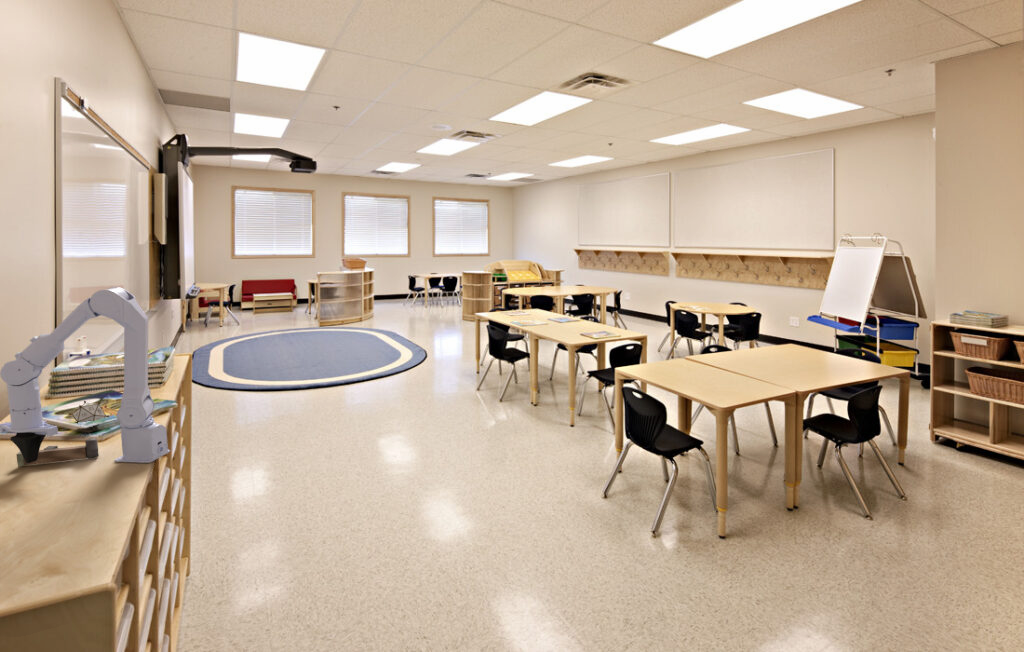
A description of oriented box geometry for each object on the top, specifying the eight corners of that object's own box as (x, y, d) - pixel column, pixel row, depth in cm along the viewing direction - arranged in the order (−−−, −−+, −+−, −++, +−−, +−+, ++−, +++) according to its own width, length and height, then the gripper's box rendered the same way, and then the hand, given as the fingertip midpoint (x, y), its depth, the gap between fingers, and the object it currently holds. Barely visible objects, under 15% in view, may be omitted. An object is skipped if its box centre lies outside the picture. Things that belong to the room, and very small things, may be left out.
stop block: (58, 455, 141) (57, 445, 141) (53, 457, 139) (52, 448, 139) (50, 455, 141) (49, 446, 141) (44, 458, 139) (43, 448, 139)
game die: (86, 439, 163) (76, 409, 165) (117, 426, 166) (107, 397, 168) (69, 434, 155) (59, 403, 157) (102, 420, 158) (92, 390, 160)
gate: (99, 455, 141) (98, 437, 140) (97, 458, 139) (95, 440, 138) (21, 463, 135) (19, 445, 134) (17, 467, 132) (15, 448, 132)
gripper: (67, 404, 134) (72, 457, 135) (17, 401, 136) (23, 453, 138) (38, 413, 127) (44, 468, 129) (-14, 409, 129) (-8, 464, 131)
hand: (31, 461), depth 133 cm, fingers closed
